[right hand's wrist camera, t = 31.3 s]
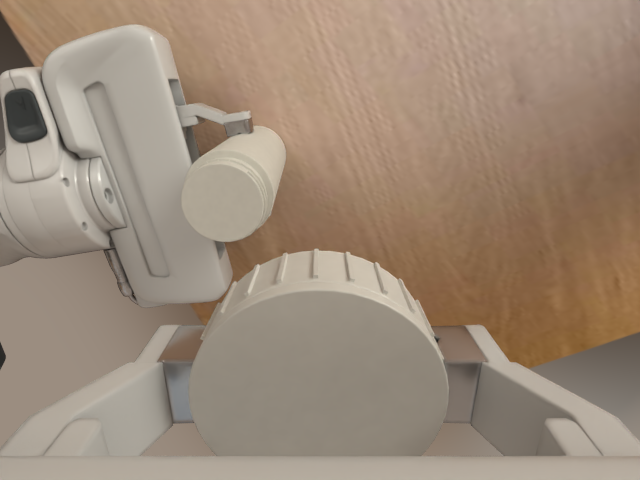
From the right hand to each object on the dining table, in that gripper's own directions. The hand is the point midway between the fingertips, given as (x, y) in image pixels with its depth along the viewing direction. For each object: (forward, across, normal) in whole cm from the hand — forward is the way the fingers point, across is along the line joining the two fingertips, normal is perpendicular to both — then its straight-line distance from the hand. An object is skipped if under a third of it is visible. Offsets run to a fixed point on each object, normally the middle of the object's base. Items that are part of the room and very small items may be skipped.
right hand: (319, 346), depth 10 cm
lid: (-2, 0, 0) cm, 2 cm away
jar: (+26, +6, -2) cm, 26 cm away
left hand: (+20, +4, -2) cm, 21 cm away
